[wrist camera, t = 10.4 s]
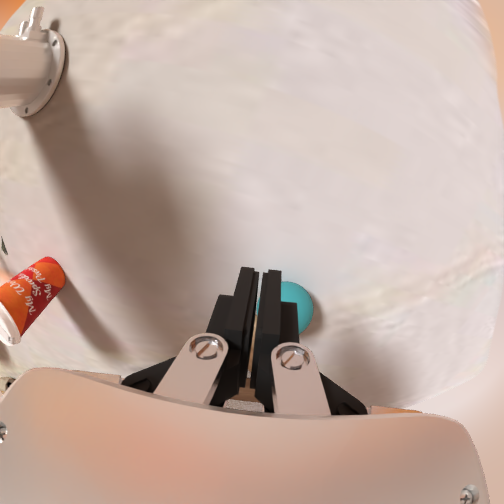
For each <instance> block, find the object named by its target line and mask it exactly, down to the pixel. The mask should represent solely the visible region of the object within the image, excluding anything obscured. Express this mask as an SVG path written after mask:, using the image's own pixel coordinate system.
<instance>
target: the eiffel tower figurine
mask: <svg viewBox="0 0 504 504" xmlns="http://www.w3.org/2000/svg"><path fill="white" fill-rule="evenodd" d="M1 238H2V236H1ZM2 250H3V251H4V253H5V254H6V255H8V254H7V251H6V249H5V246H4V243H3V239H2Z"/></svg>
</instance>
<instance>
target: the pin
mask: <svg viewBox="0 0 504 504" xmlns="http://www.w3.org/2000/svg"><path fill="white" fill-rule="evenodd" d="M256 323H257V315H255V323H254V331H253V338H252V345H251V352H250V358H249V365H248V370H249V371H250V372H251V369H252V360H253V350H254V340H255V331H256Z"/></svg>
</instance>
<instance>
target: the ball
mask: <svg viewBox="0 0 504 504" xmlns="http://www.w3.org/2000/svg"><path fill="white" fill-rule="evenodd" d="M259 301H260V298H259V300H258V303H257V316H258V308H259ZM281 301H284V302H295V303H297V309H298V327H299V334H300V333H301V332H303V331H304V330H305V329H306V328H307V326H308V325H309V324H310V322H311V319H312V316H313V303H312V300H311V297H310V295H309V294H308V292H307V291H306V290H305V289H304V288H303V287H301V286H300V285H298V284H296V283H293V282H281Z"/></svg>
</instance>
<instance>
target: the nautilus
mask: <svg viewBox="0 0 504 504" xmlns="http://www.w3.org/2000/svg"><path fill="white" fill-rule="evenodd" d="M14 381H15V380H14V379H13V378H10V377H1V378H0V391H1V392H2V393H3V394H4V393H5V391H6V390H7V389H8V388H9V387H10V385H11V384H12V383H13V382H14Z"/></svg>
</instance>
